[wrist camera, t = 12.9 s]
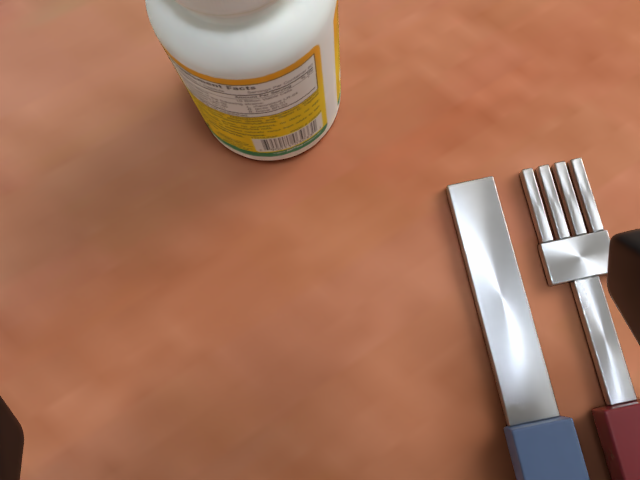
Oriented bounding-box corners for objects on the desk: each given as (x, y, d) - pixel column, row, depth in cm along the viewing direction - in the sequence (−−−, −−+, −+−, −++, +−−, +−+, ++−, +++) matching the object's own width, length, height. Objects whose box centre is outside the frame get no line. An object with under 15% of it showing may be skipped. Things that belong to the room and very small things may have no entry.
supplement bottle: (300, 187, 22) (262, 51, 13) (177, 127, 23) (56, -42, 14) (366, 68, 23) (374, -140, 14) (245, 14, 24) (176, -218, 15)
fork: (715, 589, 19) (737, 602, 18) (640, 604, 19) (658, 619, 18) (580, 160, 22) (592, 149, 21) (515, 173, 22) (524, 163, 21)
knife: (615, 609, 19) (631, 624, 18) (553, 622, 19) (565, 638, 18) (494, 177, 22) (502, 168, 21) (441, 189, 22) (446, 179, 21)
